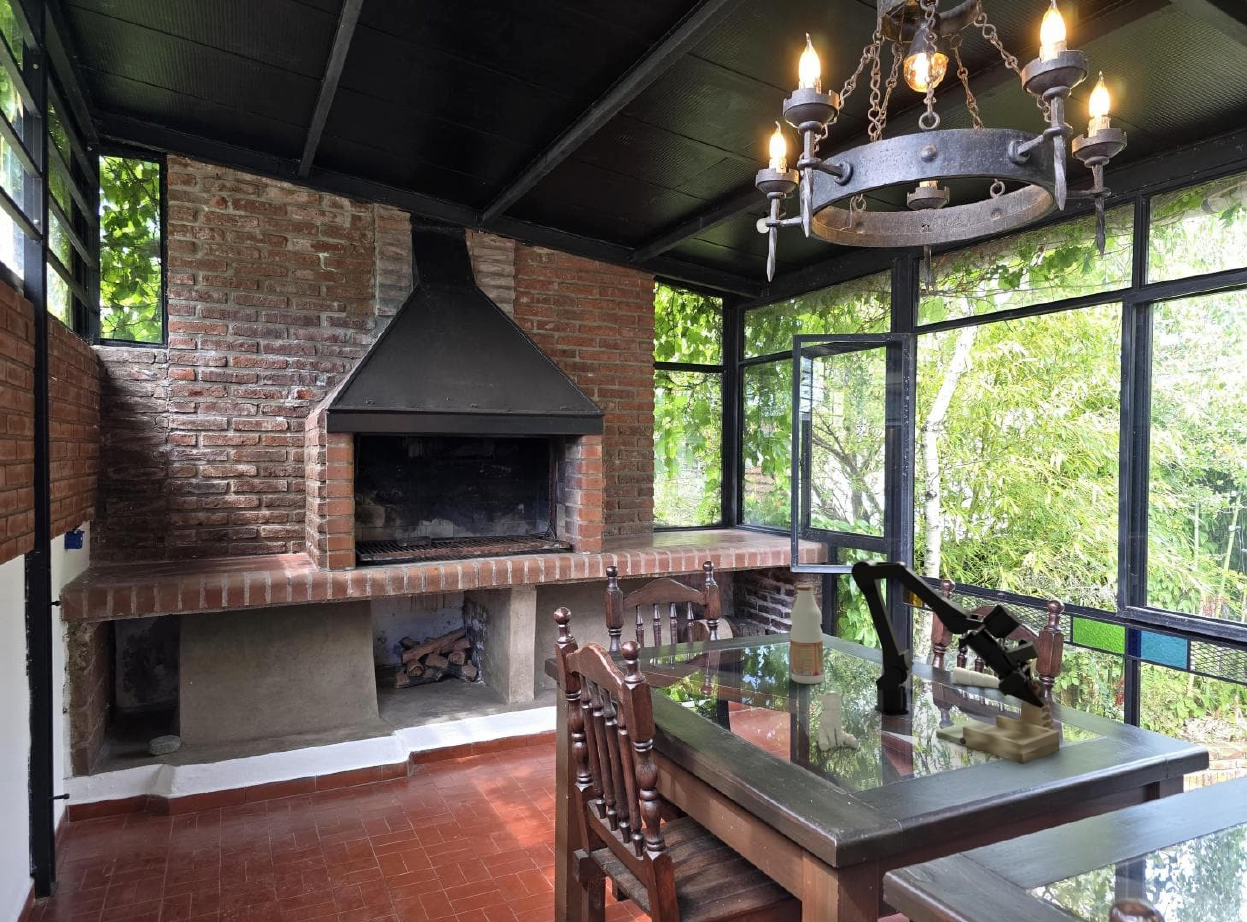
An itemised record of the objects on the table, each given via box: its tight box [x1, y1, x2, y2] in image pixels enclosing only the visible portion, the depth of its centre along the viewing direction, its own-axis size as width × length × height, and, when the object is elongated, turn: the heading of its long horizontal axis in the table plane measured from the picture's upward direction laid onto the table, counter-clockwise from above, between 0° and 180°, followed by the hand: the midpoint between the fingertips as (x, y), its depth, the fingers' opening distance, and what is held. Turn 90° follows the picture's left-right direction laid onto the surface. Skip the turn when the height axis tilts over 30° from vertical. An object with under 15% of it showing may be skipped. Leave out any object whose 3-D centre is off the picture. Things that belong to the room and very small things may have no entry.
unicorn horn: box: [951, 666, 1000, 689], centre depth 219 cm, size 5×24×5 cm, turn 55°
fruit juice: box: [789, 584, 825, 685], centre depth 231 cm, size 9×9×28 cm
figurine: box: [1019, 678, 1055, 730], centre depth 184 cm, size 7×7×12 cm
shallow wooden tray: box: [935, 714, 1060, 765], centre depth 177 cm, size 21×14×4 cm
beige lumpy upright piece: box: [816, 689, 860, 752], centre depth 179 cm, size 10×9×12 cm
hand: (1043, 703), depth 184 cm, fingers closed on figurine, 6 cm apart
